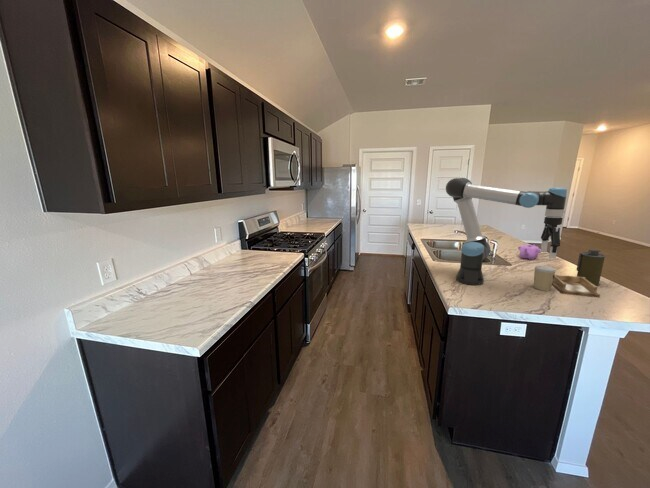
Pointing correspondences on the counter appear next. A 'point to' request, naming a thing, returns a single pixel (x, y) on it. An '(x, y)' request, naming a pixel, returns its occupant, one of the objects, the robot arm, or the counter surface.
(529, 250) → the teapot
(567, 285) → the dock
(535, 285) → the coffee cup
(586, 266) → the canister
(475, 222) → the robot arm
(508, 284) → the counter surface
